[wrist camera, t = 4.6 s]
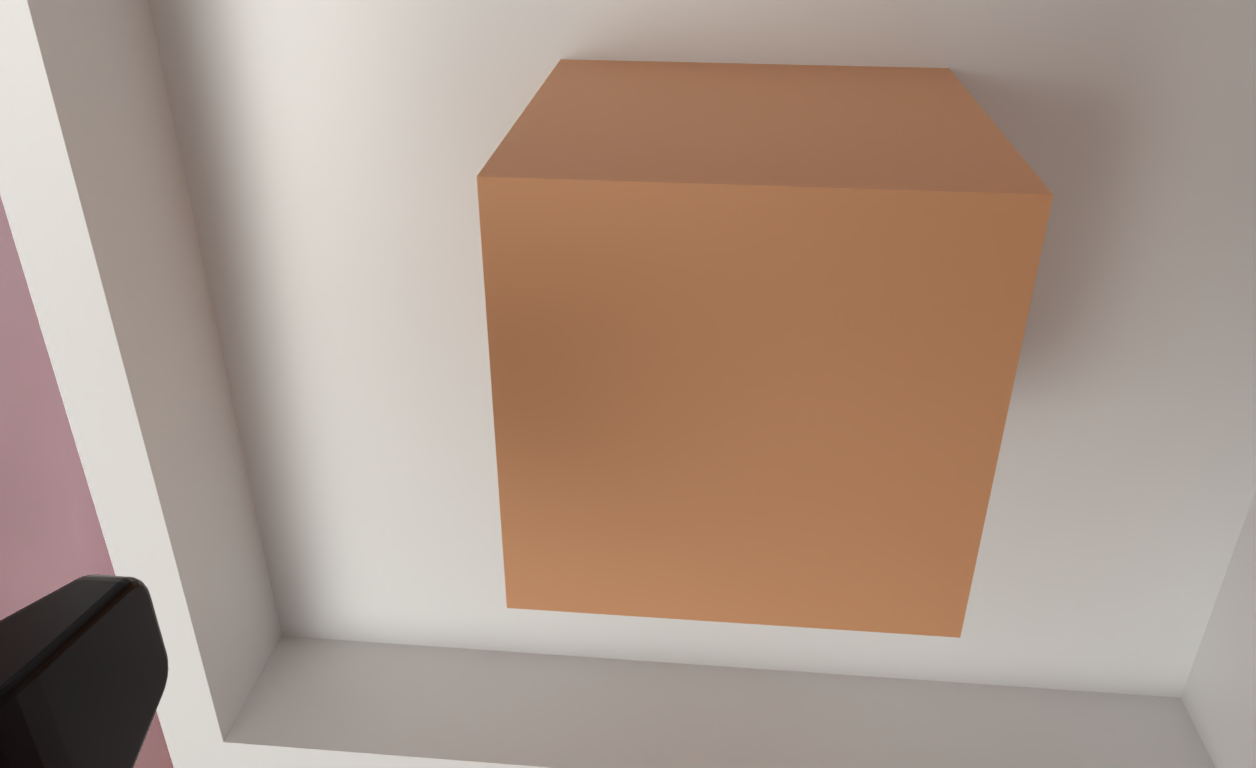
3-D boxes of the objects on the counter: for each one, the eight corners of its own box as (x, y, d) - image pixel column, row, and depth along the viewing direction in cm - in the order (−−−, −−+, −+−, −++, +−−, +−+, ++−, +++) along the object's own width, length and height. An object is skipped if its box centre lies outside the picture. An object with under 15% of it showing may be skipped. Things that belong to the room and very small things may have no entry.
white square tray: (250, 653, 20) (177, 779, 17) (-35, -571, 11) (-266, -685, 9) (1213, 721, 19) (1290, 869, 16) (1733, -619, 10) (2088, -773, 7)
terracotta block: (569, 391, 16) (507, 607, 12) (560, 58, 14) (476, 176, 9) (897, 406, 16) (960, 637, 11) (949, 68, 13) (1053, 194, 9)
